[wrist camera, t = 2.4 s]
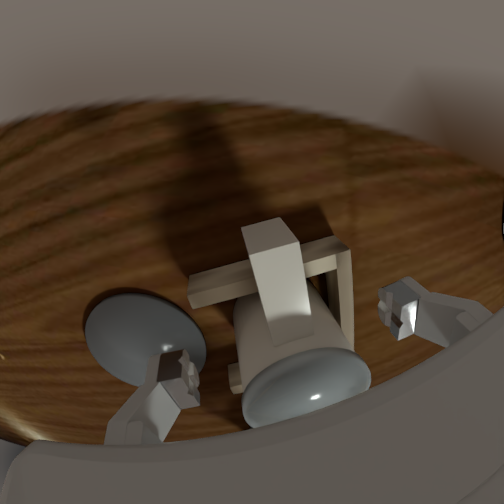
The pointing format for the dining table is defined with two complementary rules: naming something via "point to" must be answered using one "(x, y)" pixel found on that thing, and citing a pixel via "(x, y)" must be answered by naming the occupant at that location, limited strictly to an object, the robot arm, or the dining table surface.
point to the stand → (314, 262)
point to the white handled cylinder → (289, 335)
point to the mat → (140, 334)
